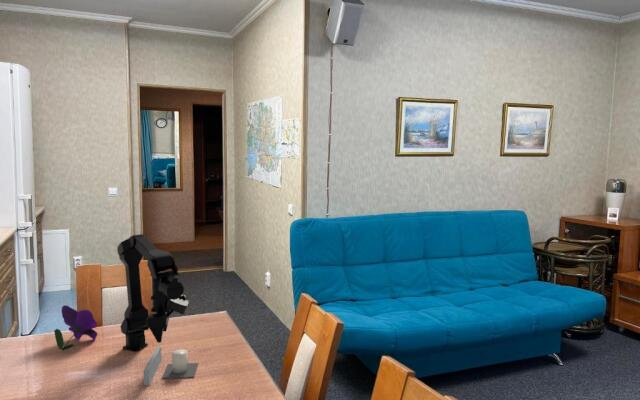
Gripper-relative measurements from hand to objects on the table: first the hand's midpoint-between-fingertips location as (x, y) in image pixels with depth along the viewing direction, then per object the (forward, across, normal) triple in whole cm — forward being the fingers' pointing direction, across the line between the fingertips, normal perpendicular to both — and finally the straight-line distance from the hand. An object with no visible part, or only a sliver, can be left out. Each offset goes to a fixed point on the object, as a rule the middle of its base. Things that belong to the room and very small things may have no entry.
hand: (162, 336), depth 165 cm
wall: (+11, -3, +2) cm, 12 cm away
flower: (+12, +22, +36) cm, 44 cm away
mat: (+11, -3, -6) cm, 13 cm away
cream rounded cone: (+10, -3, -6) cm, 13 cm away
